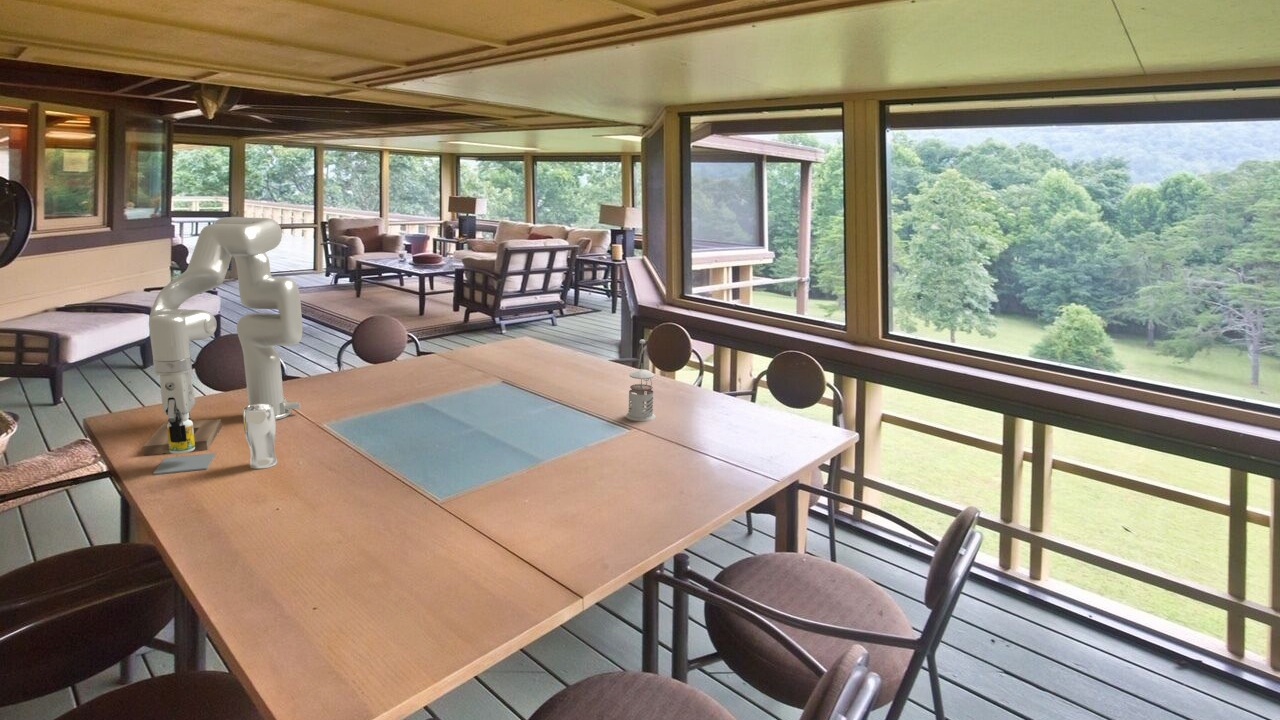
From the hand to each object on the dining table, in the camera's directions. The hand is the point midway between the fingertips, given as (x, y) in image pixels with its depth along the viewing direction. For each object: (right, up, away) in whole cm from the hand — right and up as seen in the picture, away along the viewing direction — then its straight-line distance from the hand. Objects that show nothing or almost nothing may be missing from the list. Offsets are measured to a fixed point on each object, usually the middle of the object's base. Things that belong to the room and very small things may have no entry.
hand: (181, 436), depth 171 cm
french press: (+113, +1, +51) cm, 124 cm away
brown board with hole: (-11, -3, +18) cm, 22 cm away
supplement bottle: (0, -4, +1) cm, 4 cm away
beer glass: (+19, -7, +3) cm, 20 cm away
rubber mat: (0, -7, +2) cm, 7 cm away
